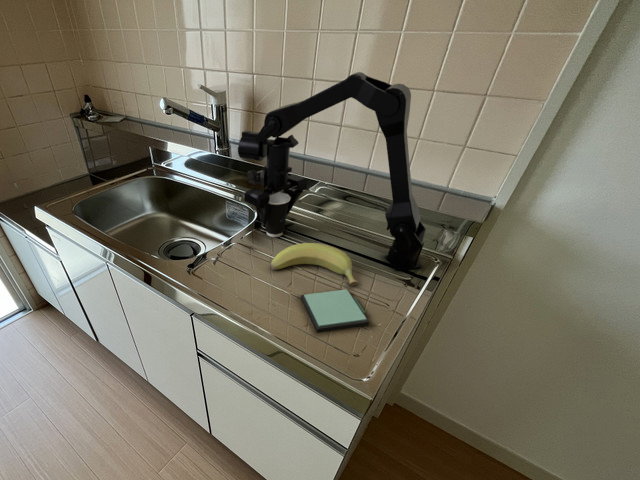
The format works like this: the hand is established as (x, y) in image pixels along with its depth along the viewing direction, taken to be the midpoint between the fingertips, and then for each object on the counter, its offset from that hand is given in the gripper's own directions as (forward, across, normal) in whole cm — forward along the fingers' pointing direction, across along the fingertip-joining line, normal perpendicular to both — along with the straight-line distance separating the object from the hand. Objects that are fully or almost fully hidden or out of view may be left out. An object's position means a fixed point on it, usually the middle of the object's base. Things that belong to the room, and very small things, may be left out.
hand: (275, 218), depth 97 cm
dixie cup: (+5, 0, 0) cm, 5 cm away
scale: (+5, +15, +34) cm, 37 cm away
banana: (+5, +6, +22) cm, 23 cm away
